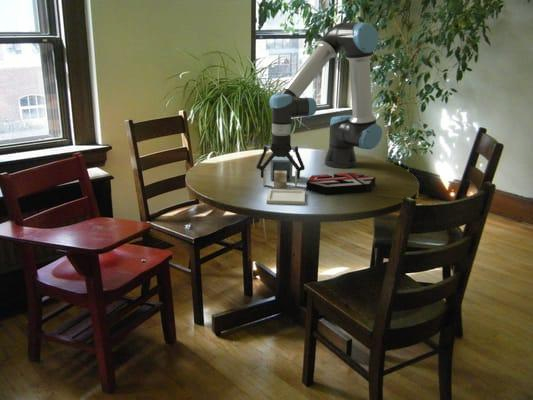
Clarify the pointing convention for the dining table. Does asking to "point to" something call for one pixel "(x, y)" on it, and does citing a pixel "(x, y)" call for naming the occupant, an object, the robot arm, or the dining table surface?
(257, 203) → the dining table surface
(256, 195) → the dining table surface
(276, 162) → the open box
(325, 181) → the emblem
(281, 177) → the block
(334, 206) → the dining table surface
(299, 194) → the tray
